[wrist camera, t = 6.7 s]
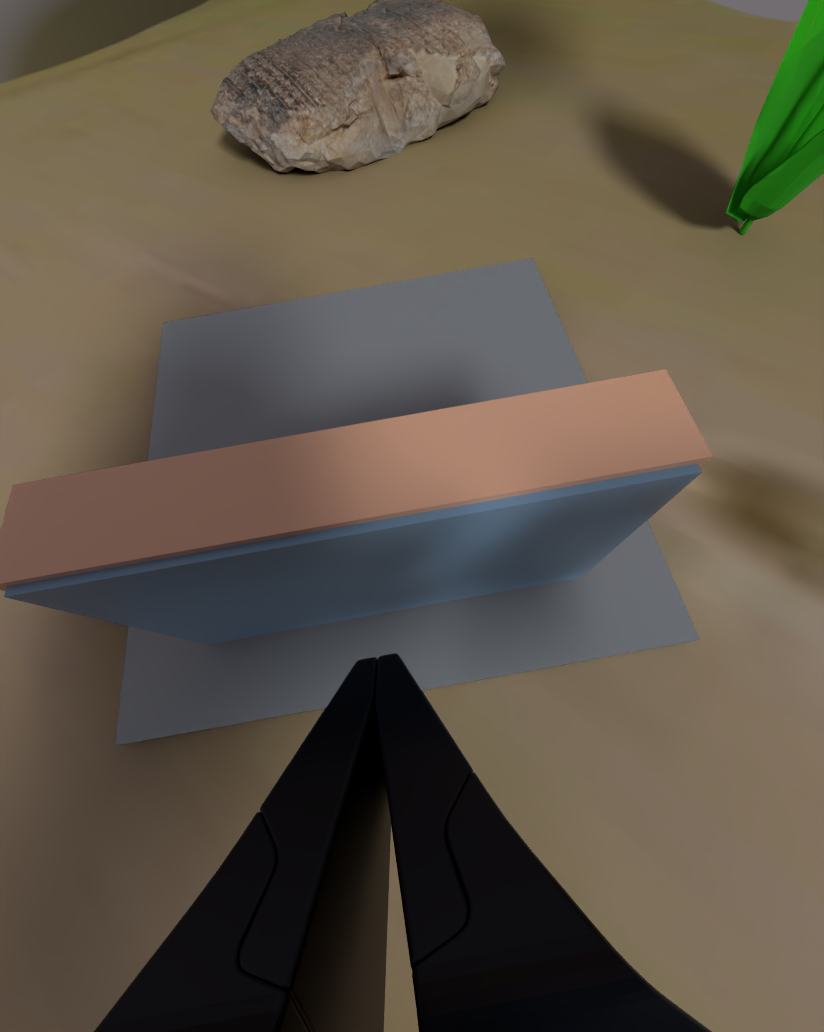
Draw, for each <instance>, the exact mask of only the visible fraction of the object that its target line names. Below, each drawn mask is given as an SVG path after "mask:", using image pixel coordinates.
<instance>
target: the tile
mask: <svg viewBox="0 0 824 1032" xmlns="http://www.w3.org/2000/svg"><path fill="white" fill-rule="evenodd" d="M712 457H713V455H712V453H711V451H710V450H709V448H708V446H707V444H706V442H705V440H704V439H703V437H702V435H701V433H700V431H699V429H698V428H697V426H696V424H695V422H694V420H693V418H692V417H691V415H690V413H689V411H688V409H687V407H686V406H685V404H684V402H683V400H682V398H681V396H680V395H679V393H678V391H677V389H676V387H675V385H674V384H673V382H672V380H671V378H670V376H669V374H668V373H667V371H666V369H665V370H659V371H654V372H648V373H643V374H637V375H631V376H626V377H620V378H614V379H609V380H603V381H597V382H592V383H586V384H580V385H575V386H569V387H563V388H558V389H552V390H546V391H541V392H535V393H529V394H524V395H518V396H513V397H507V398H501V399H496V400H490V401H484V402H479V403H473V404H467V405H462V406H456V407H450V408H445V409H439V410H433V411H428V412H422V413H416V414H411V415H405V416H399V417H394V418H388V419H383V420H377V421H371V422H366V423H360V424H354V425H349V426H343V427H337V428H332V429H326V430H320V431H315V432H309V433H303V434H298V435H292V436H286V437H281V438H275V439H269V440H264V441H258V442H253V443H247V444H241V445H236V446H230V447H224V448H219V449H213V450H207V451H202V452H196V453H190V454H185V455H179V456H173V457H168V458H162V459H156V460H151V461H145V462H139V463H134V464H128V465H122V466H117V467H111V468H106V469H100V470H94V471H89V472H83V473H77V474H72V475H66V476H60V477H55V478H49V479H43V480H38V481H32V482H26V483H21V484H15V485H13V486H12V490H11V493H10V497H9V501H8V505H7V508H6V512H5V516H4V520H3V524H2V527H1V531H0V590H4V591H5V596H4V597H6V598H11V599H15V600H19V601H23V602H28V603H32V604H36V605H40V606H45V607H49V608H53V609H58V610H62V611H66V612H70V613H75V614H79V615H83V616H87V617H92V618H96V619H100V620H104V621H109V622H113V623H117V624H122V625H126V626H130V627H134V628H139V629H143V630H147V631H151V632H156V633H160V634H164V635H169V636H173V637H177V638H181V639H186V640H190V641H194V642H198V643H203V644H207V645H210V644H216V643H221V642H227V641H232V640H238V639H243V638H249V637H255V636H260V635H266V634H271V633H277V632H282V631H288V630H293V629H299V628H305V627H310V626H316V625H321V624H327V623H332V622H338V621H344V620H349V619H355V618H360V617H366V616H371V615H377V614H382V613H388V612H394V611H399V610H405V609H410V608H416V607H421V606H427V605H432V604H438V603H444V602H449V601H455V600H460V599H466V598H471V597H477V596H483V595H488V594H494V593H499V592H505V591H510V590H516V589H521V588H527V587H533V586H538V585H544V584H549V583H555V582H560V581H566V580H571V579H577V578H582V577H583V576H584V575H585V574H586V573H587V572H588V571H590V570H591V569H592V568H593V567H594V566H595V565H596V564H598V563H599V562H600V561H601V560H602V559H603V558H604V557H606V556H607V555H608V554H609V553H610V552H611V551H612V550H614V549H615V548H616V547H617V546H618V545H619V544H620V543H622V542H623V541H624V540H625V539H626V538H627V537H628V536H630V535H631V534H632V533H633V532H634V531H635V530H636V529H638V528H639V527H640V526H641V525H642V524H643V523H644V522H646V521H647V520H648V519H649V518H650V517H651V516H652V515H654V514H655V513H656V512H657V511H658V510H659V509H660V508H662V507H663V506H664V505H665V504H666V503H667V502H668V501H670V500H671V499H672V498H673V497H674V496H675V495H676V494H678V493H679V492H680V491H681V490H682V489H683V488H684V487H686V486H687V485H688V484H689V483H690V482H691V481H692V480H694V479H695V478H696V477H697V476H698V475H699V474H700V473H702V472H701V470H700V468H701V467H702V466H703V465H704V464H705V463H706V462H708V461H709V460H710V459H711V458H712Z"/></svg>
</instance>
